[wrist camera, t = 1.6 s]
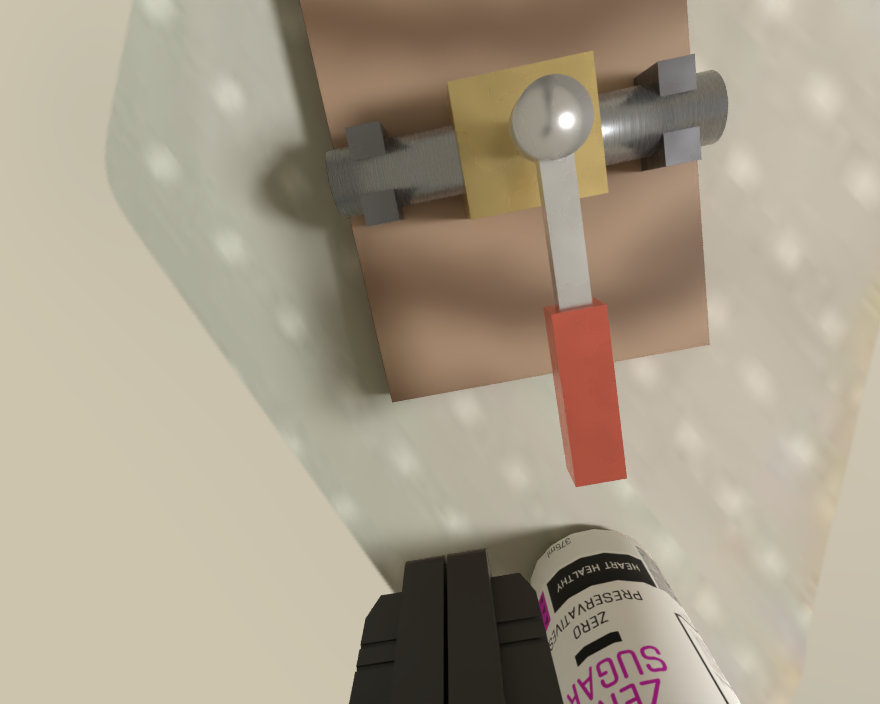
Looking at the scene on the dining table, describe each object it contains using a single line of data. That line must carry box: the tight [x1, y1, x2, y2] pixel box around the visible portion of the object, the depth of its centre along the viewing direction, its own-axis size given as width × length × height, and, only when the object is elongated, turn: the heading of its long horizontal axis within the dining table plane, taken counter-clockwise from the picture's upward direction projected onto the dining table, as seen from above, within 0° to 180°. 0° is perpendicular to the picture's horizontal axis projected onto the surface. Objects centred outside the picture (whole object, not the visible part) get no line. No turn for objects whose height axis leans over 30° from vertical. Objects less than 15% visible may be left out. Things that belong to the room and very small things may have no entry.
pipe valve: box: [326, 51, 728, 227], centre depth 23 cm, size 6×18×9 cm, turn 101°
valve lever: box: [509, 74, 627, 487], centre depth 20 cm, size 15×3×2 cm, turn 11°
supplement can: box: [530, 529, 741, 704], centre depth 28 cm, size 8×8×15 cm
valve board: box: [300, 0, 710, 402], centre depth 27 cm, size 24×18×2 cm
